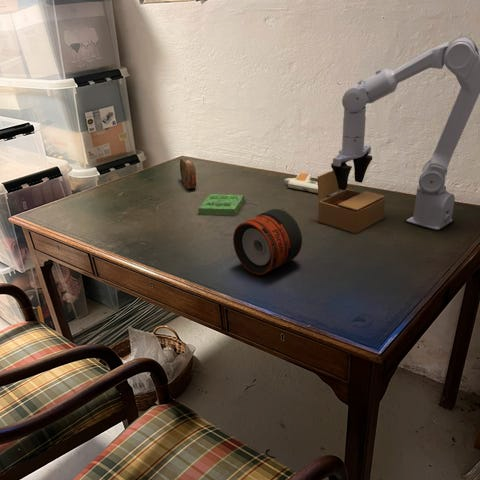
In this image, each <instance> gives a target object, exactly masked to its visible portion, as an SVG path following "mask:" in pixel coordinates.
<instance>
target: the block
mask: <svg viewBox="0 0 480 480" xmlns="http://www.w3.org/2000/svg"><path fill="white" fill-rule="evenodd" d="M344 201H346V200H342V199H341V200H339V201H337V202H335V203H333V205H335V206H338V204H340V203H342V202H344ZM338 207H342V206H338ZM342 208H345V207H342ZM345 209H349V208H345ZM349 210H352V209H349Z"/></svg>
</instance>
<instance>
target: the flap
mask: <svg viewBox="0 0 480 480" xmlns="http://www.w3.org/2000/svg"><path fill="white" fill-rule="evenodd" d="M317 183H318V193H317V198H318V200H322V199H323V198H327V197H329V196H328V195H330V194H332V193H335V192H337V191H338V192H340V191H342V190H341V189H339V188H338V183H337V179H336V175H335V173H334V171H333V169H332V170H330V171H328V172H325V173H323V174H321V175H318V176H317ZM338 192H337V193H338Z"/></svg>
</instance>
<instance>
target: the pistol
mask: <svg viewBox="0 0 480 480" xmlns="http://www.w3.org/2000/svg"><path fill="white" fill-rule="evenodd" d="M311 179H312V174H310V173H301V172H299V173H298V174H297V176H296V177H287V178H284V180H283V183H284V184H286V185H287V188H289V189H294V190H299V191H304V192H307V193H314V194H318V181H315V180H311ZM337 193H339V191H337V192H335V193H332V194H330V195H328V196H327V197H330V196H332V195H335V194H337Z"/></svg>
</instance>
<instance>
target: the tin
mask: <svg viewBox="0 0 480 480" xmlns="http://www.w3.org/2000/svg"><path fill="white" fill-rule="evenodd" d="M179 173H180V178H181V182H182V184H183V185H184V186H185V188H186V189H187V190H191V189H195V188H196V187H197V172H196V167H195V164H194V163H193V162H192V161H191V159H190V158H180V161H179Z"/></svg>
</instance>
